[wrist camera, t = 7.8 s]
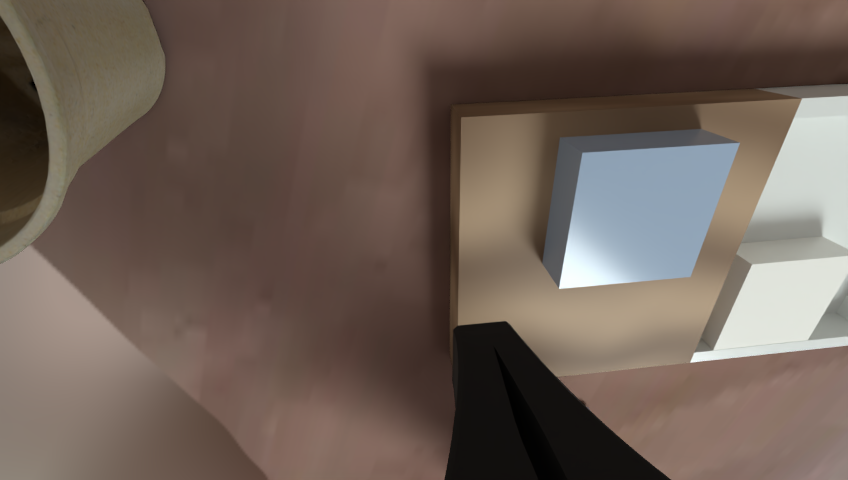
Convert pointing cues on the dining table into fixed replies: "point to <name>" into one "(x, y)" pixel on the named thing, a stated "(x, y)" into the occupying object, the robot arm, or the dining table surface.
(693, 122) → the board
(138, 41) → the flower pot
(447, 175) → the dining table surface
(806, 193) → the tray
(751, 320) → the tile white
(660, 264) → the tile blue
